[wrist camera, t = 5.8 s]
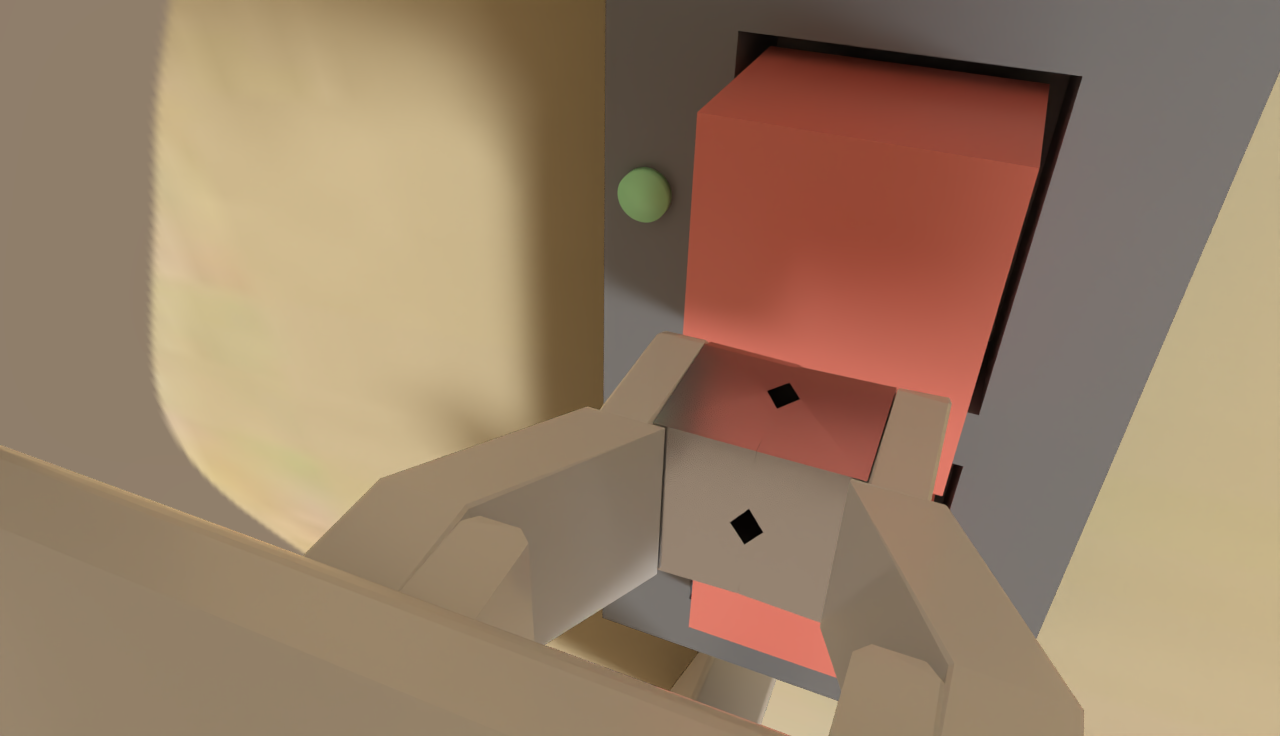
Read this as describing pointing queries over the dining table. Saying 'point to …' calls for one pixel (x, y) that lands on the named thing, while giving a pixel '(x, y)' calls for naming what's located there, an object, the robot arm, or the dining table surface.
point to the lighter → (726, 687)
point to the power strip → (1044, 256)
